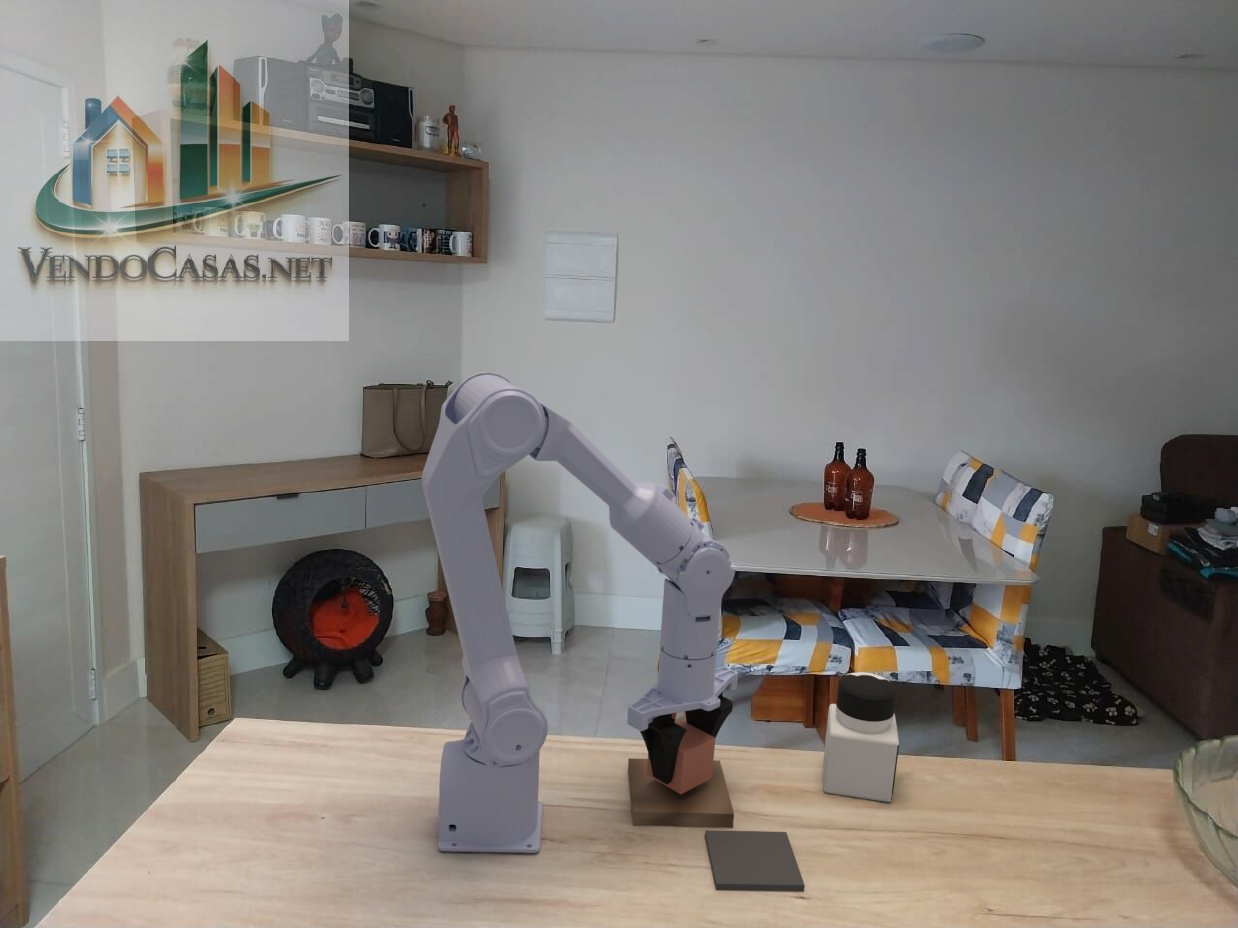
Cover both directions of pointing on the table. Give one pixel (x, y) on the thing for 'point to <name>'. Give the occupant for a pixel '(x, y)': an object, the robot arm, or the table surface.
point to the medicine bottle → (862, 739)
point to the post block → (678, 800)
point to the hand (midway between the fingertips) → (679, 769)
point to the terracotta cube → (691, 760)
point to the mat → (753, 861)
